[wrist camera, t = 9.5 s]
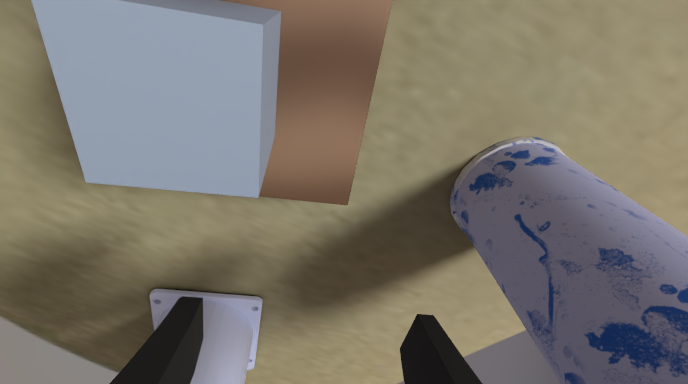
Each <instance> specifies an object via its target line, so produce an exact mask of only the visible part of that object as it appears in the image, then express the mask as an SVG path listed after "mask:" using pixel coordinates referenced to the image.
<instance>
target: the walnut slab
mask: <svg viewBox="0 0 688 384" xmlns="http://www.w3.org/2000/svg"><path fill="white" fill-rule="evenodd" d="M221 1H227V2H233V3H238V4H244V5H249V6H255V7H261V8H266V9H272V10H278V11H281V25H280V45H279V64H278V83H277V102H276V121H275V137H274V141H273V145H272V149H271V152H270V156H269V160H268V164H267V168H266V171H265V175H264V179H263V183H262V186H261V190H260V194H259V196H261V197H271V198H281V199H291V200H301V201H310V202H320V203H330V204H340V205H348V201H349V196H350V192H351V187H352V183H353V178H354V174H355V169H356V165H357V160H358V156H359V151H360V146H361V142H362V137H363V133H364V128H365V124H366V119H367V115H368V110H369V106H370V101H371V96H372V92H373V87H374V83H375V78H376V74H377V69H378V65H379V60H380V56H381V51H382V46H383V42H384V37H385V33H386V28H387V24H388V19H389V15H390V10H391V6H392V1H393V0H221Z"/></svg>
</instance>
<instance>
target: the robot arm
mask: <svg viewBox="0 0 688 384" xmlns="http://www.w3.org/2000/svg"><path fill="white" fill-rule="evenodd" d="M149 297H150V304H151V312H152V319H153V326H154V333H153V334H152V335H151V336H150V338H149V339H148V340H147V341H146V342H145V344H144V345H143V346H142V347H141V348H140V350H139V351H138V352H137V353H136V354H135V355H134V357H133V358H132V359H131V360H130V361H129V363H128V364H127V365H126V366H125V367H124V368H123V369H122V371H121V372H120V373H119V374H118V375H117V376H116V377H115V378H114V379H113V380H112V382H111V383H110V384H245V379H246V373H247V370H251V369H253V368H254V365H255V358H256V350H257V342H258V334H259V327H260V319H261V311H262V303H263V300H262V299H261V298H260V297H257V296H244V295H231V294H219V293H206V292H193V291H181V290H168V289H154V290H152V291H151V293H150V296H149ZM400 353H401V362H402V369H403V376H404V382H405V384H482V383H481V381H480V380H479V379H478V377H477V376H476V375H475V373H474V372H473V370H472V369H471V368H470V366H469V365H468V364H467V362H466V361H465V360H464V358H463V357H462V355H461V354H460V353H459V351H458V350H457V348H456V347H455V345H454V344H453V343H452V341H451V340H450V338H449V337H448V335H447V334H446V333H445V331H444V330H443V328H442V327H441V325H440V324H439V323H438V321H437V320H436V318H435V317H434V316H433V315H422V314H417V316H416V318H415V320H414V322H413V324H412V326H411V328H410V330H409V332H408V334H407V336H406V338H405V339H404V341H403V343H402V345H401V347H400Z"/></svg>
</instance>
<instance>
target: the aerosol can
mask: <svg viewBox="0 0 688 384" xmlns="http://www.w3.org/2000/svg"><path fill="white" fill-rule="evenodd" d="M450 208H451V214H452V216H453V218H454V219H455V221H456V223H457V224H458V226H459V228H460V229H461V230H462V231H464V232H465V233H466V234H467V235H468V237H469V239H470V240H471V242H472V243H473V245H474V247H475V248H476V250H477V251H478V253H479V255H480V256H481V258H482V259H483V261H484V262H485V264H486V266H487V267H488V269H489V270H490V272H491V274H492V275H493V277H494V278H495V280H496V282H497V283H498V285H499V286H500V288H501V290H502V291H503V293H504V294H505V296H506V298H507V299H508V301H509V302H510V304H511V306H512V307H513V309H514V310H515V312H516V314H517V315H518V317H519V318H520V320H521V322H522V323H523V325H524V326H525V328H526V330H527V331H528V332H529V334H530V336H531V337H532V339H533V341H534V342H535V344H536V345H537V347H538V349H539V350H540V352H541V353H542V355H543V356H544V358H545V360H546V361H547V363H548V365H549V366H550V368H551V369H552V371H553V373H554V374H555V376H556V377H557V379H558V381H559V382H560V384H688V237H687V236H686V235H684V234H683V233H681V232H680V231H678V230H677V229H675V228H674V227H672V226H671V225H669V224H668V223H666V222H665V221H663V220H661V219H660V218H658V217H657V216H655V215H654V214H652V213H651V212H649V211H648V210H646V209H645V208H643V207H642V206H640V205H639V204H637V203H636V202H634V201H633V200H631V199H630V198H628V197H627V196H625V195H624V194H622V193H621V192H619V191H618V190H616V189H615V188H613V187H612V186H610V185H609V184H607V183H606V182H604V181H603V180H601V179H600V178H598V177H596V176H595V175H593V174H592V173H590V172H589V171H587V170H586V169H584V168H583V167H581V166H580V165H578V164H577V163H575V162H574V161H572V160H571V159H569V158H568V157H567V156H566V155H565V154H564V153H563V152H562V151H561V150H560V149H559V148H558V147H557V146H556V145H554V144H553V143H550V142H548V141H545V140H542V139H540V138H537V137H517V138H513V139H510V140H506V141H503V142H499V143H497V144H495V145H493V146H491V147H490V148H488V149H486V150H484V151H483V152H481V153H479V154H478V155H477V156H476V157H475V158H474V159H473V160H471V161H470V162H469V163H468V164H467V165H466V166H465V167H464V168H463V170H462V171H461V173H460V175H459V176H458V178H457V179H456V181H455V183H454V184H453V188H452V192H451V196H450Z"/></svg>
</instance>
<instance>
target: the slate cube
mask: <svg viewBox="0 0 688 384" xmlns="http://www.w3.org/2000/svg"><path fill="white" fill-rule="evenodd" d="M31 1H32V4H33V8H34V11H35V14H36V18H37V21H38V24H39V28H40V31H41V34H42V38H43V41H44V44H45V48H46V51H47V54H48V58H49V61H50V64H51V68H52V71H53V74H54V78H55V81H56V84H57V88H58V91H59V94H60V98H61V101H62V104H63V108H64V111H65V114H66V118H67V121H68V124H69V128H70V131H71V134H72V138H73V141H74V144H75V148H76V151H77V154H78V158H79V161H80V164H81V168H82V171H83V174H84V178H85V181H86V182H87V183H98V184H109V185H120V186H132V187H143V188H154V189H165V190H176V191H187V192H198V193H209V194H220V195H232V196H243V197H254V198H259V194H260V190H261V186H262V183H263V179H264V175H265V171H266V168H267V164H268V160H269V156H270V152H271V149H272V145H273V141H274V137H275V121H276V102H277V83H278V64H279V45H280V25H281V11H278V10H272V9H266V8H261V7H255V6H249V5H244V4H238V3H233V2H227V1H221V0H31Z"/></svg>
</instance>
